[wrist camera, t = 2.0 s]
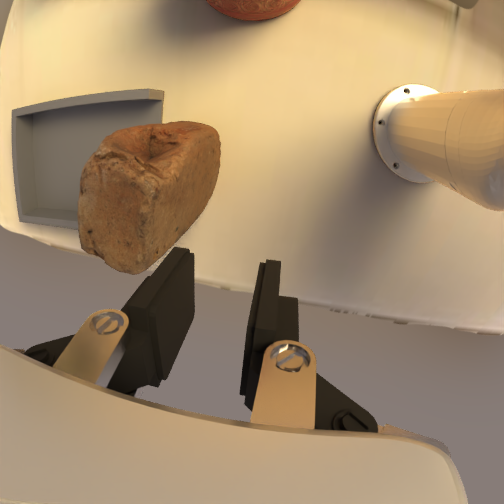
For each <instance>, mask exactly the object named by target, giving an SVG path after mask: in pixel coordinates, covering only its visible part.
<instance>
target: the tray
mask: <svg viewBox="0 0 504 504" xmlns="http://www.w3.org/2000/svg"><path fill="white" fill-rule="evenodd" d="M163 99H164V91H160V90H154V89H138V90H125V91H115V92H105V93H97V94H90V95H83V96H76V97H70V98H64V99H59V100H53V101H48V102H44V103H39V104H34V105H30V106H26V107H22V108H18V109H14V110H12V158H13V173H14V184H15V193H16V201H17V208H18V215H19V221H20V222H26V223H33V224H41V225H48V226H56V227H63V228H71V229H78V218H77V212H78V200H79V192H80V178H81V173H82V169H83V167H84V165H85V163H86V162H87V161H88V159H89V158H90V157H91V155H92V154H93V153H94V152H96V151H97V149H98V147H99V145H100V144H101V142H102V141H103V140H104V138H105V137H106V136H109V135H111V134H112V133H113V132H115V131H117V130H120V129H125V128H129V127H134V126H138V125H147V124H162V114H163Z"/></svg>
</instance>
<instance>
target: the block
mask: <svg viewBox="0 0 504 504" xmlns="http://www.w3.org/2000/svg"><path fill="white" fill-rule="evenodd" d="M220 146H221V142H220V141H219V134H218V132H217V131H216V130H215V129H214V128H213V127H211V126H209V125H205V124H202V123H197V122H190V121H178V122H170V123H167V124H147V125H138V126H134V127H129V128H125V129H120V130H117V131H115V132H113V133H112V134H111V135H109V136H106V137H105V138H104V140H103V141H102V142H101V144H100V145H99V147H98V149H97V151H96V152H94V153H93V154H92V155H91V157H90V158H89V159H88V161H87V162H86V163H85V165H84V167H83V169H82V173H81V178H80V192H79V200H78V212H77V218H78V231H79V238H80V243H81V248H82V249H83V250H84V251H86V252H87V253H88V254H93V255H96V256H99V257H101V258H102V259H103V260H105V263H106V264H107V265H109V266H110V267H112V268H114V269H115V270H117V271H119V272H124V273H129V274H132V275H135V274H139V273H141V272H143V271H145V270H146V269H148V268H149V267H150V266H151V265H152V264H154V263H155V262H156V261H157V260H158V259H159V258H160V257H162V256H163V255H164V254H165V252H166V251H167V250H168V249H170V248H171V247H172V246H173V245H174V243H175V242H177V241H178V240H179V238H180V237H181V236H182V235H183V234H184V233H185V232H186V231H187V230H188V228H189V227H190V226H191V225H192V224H193V223H194V222H195V220H196V219H197V218H198V217H199V215H200V214H201V213H202V212H203V210H204V209H205V207H206V205H207V203H208V201H209V199H210V197H211V196H212V194H213V191H214V188H215V185H216V181H217V177H218V173H219V167H220V155H221V151H220Z"/></svg>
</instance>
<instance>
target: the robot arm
mask: <svg viewBox="0 0 504 504" xmlns="http://www.w3.org/2000/svg"><path fill="white" fill-rule="evenodd" d="M404 90H405V91H406V93H404ZM378 121H381V124H380V125H379V124H378ZM373 136H374V141H375V145H376V148H377V151H378V153H379V155H380V157H381V158H382V160H383V161H384V163H385V164H386V165H387V166H388V168H389V169H391V170H392V171H393V172H394V173H395V174H397V175H398V176H400V177H402V178H404V179H406V180H408V181H411V182H416V183H428V182H433V181H437V182H439V183H441V184H442V185H444V186H446V187H448V188H450V189H452V190H454V191H455V192H457V193H459V194H461V195H463V196H464V197H466V198H468V199H470V200H472V201H474V202H475V203H477V204H479V205H481V206H483V207H485V208H487V209H490V210H494V211H504V89H498V90H478V91H460V92H447V93H439V92H438V91H436V90H435V89H433V88H431V87H428V86H425V85H421V84H407V85H403V86H400V87H397V88H395V89H393V90H392V91H390V92H389V93H388V94H387V95H386V96H385V97H384V98H383V99H382V100H381V102H380V103H379V105H378V107H377V110H376V112H375V116H374V121H373ZM394 163H395V164H396V165H395V167H393V164H394ZM280 269H281V261H275V260H268V259H266V263H261V262H260V266H259V271H258V276H257V280H256V285H255V290H254V295H253V300H252V305H251V310H250V315H249V320H248V326H247V333H246V342H245V350H244V360H243V368H242V378H241V386H240V395H244V396H245V403H244V404H245V405H246V406H247V407H248V408H249V409H250V410H251V411H252V415H251V420H250V422H244V421H237V420H231V419H225V418H220V417H214V416H209V415H204V414H199V413H194V412H190V411H185V410H181V409H177V408H173V407H169V406H165V405H161V404H157V403H153V402H150V401H146V400H143V399H140V398H141V396H142V393H143V386H146V385H150V386H155V387H159V385H160V382H161V380H166V379H167V377H168V375H169V373H170V371H171V369H172V366H173V364H174V361H175V359H176V357H177V355H178V352H179V350H180V348H181V346H182V343H183V341H184V339H185V337H186V334H187V332H188V330H189V327H190V325H191V323H192V321H193V318H194V312H195V305H194V304H195V303H194V253H190V250H189V249H186V248H179V247H174V248H173V249H172V250H171V252H170V253H169V254H168V255H167V256H166V258H165V259H164V260H163V261H162V263H161V264H160V265H159V266H158V268H157V269H156V270H155V271H154V273H153V274H152V275H151V276H148V277H147V278H146V279H145V280H144V281H143V282H142V284H141V285H140V286H139V287H138V289H137V290H136V291H135V293H134V294H133V295H132V296H131V298H130V299H129V300H128V301H127V303H126V304H125V306H124V307H123V308H122V309H121V311H119V310H115V309H105V310H100V311H97V312H95V313H93V314H92V315H90V316H89V318H87V320H86V321H85V322H84V324H83V325H82V326H81V328H80V329H79V330H78V332H77V333H76V334H75V335H71V336H67V337H64V338H60V339H56V340H53V341H50V342H45V343H42V344H38V345H35V346H33V347H31V348H29V349H28V350H27V351H26V352H25V350H23V349H10V348H8V347H6V346H4V345H1V344H0V504H468V500H467V497H466V493H465V489H464V486H463V483H462V481H461V478H460V476H459V473H458V471H457V469H456V467H455V465H454V463H453V462H452V460H451V456H450V452H449V450H448V447H447V446H446V445H445V444H444V443H442V442H440V441H438V440H436V439H432V438H429V437H425V436H422V435H419V434H415V433H413V432H409V431H406V430H403V429H400V428H397V427H394V426H391V425H389V424H385V426H384V427H383V426H380V425H377V422H376V421H375V419H374V417H373V416H372V415H371V414H370V413H369V412H367V411H366V410H365V409H363V408H362V407H361V406H359V405H358V404H357V403H355V402H354V401H353V400H351V399H350V398H349V397H347V396H346V395H345V394H343V393H342V392H340V391H339V390H338V389H337V388H336V387H334V386H333V385H332V384H330V383H329V382H328V381H326V380H325V379H324V378H323V377H321V376H320V375H319V374H318V373H316V357H315V354H314V353H313V351H312V350H311V349H310V348H308V347H307V346H306V345H304V344H302V343H300V342H299V329H298V328H299V325H298V298H294V297H286V296H279V284H280Z"/></svg>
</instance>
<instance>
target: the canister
mask: <svg viewBox="0 0 504 504" xmlns="http://www.w3.org/2000/svg"><path fill="white" fill-rule="evenodd" d="M206 1H207V2H208V3H209V4H210V5H211V6H212V7H213V8H214V9H216V10H217V11H219V12H221V13H223V14H225V15H227V16H229V17H232V18H235V19H240V20H247V21H260V20H267V19H271V18H275V17H278V16H280V15H282V14H285V13H286V12H288V11H290V10H291V9H292V8H294V7H295V6H296V5H297V4H298V3H299V2H300V1H301V0H206Z"/></svg>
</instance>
